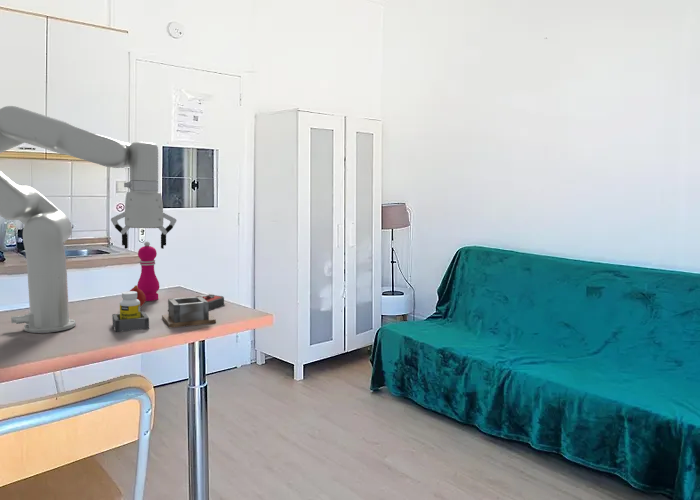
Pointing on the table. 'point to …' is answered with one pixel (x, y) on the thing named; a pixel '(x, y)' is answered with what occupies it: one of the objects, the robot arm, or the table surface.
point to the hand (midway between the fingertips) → (144, 248)
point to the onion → (139, 295)
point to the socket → (188, 312)
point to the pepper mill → (148, 272)
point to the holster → (130, 323)
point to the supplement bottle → (129, 306)
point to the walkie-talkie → (213, 300)
